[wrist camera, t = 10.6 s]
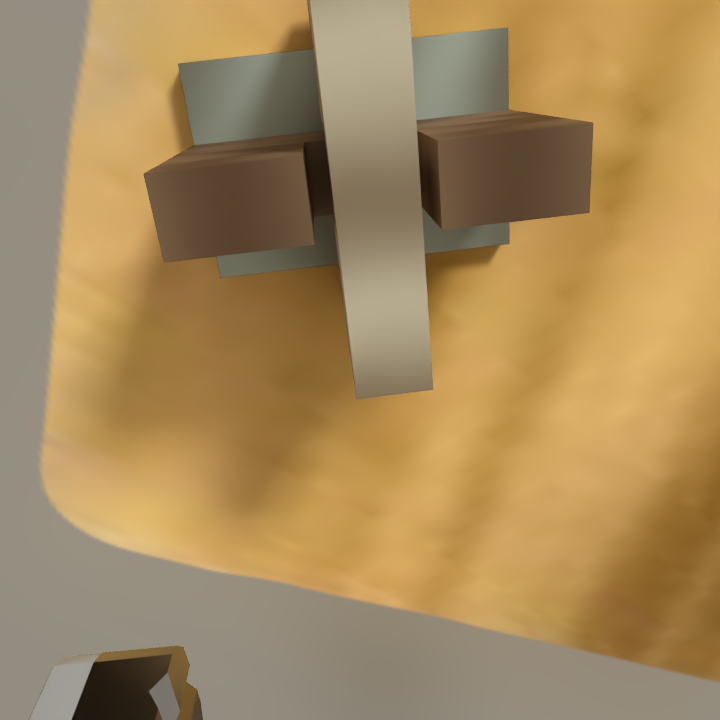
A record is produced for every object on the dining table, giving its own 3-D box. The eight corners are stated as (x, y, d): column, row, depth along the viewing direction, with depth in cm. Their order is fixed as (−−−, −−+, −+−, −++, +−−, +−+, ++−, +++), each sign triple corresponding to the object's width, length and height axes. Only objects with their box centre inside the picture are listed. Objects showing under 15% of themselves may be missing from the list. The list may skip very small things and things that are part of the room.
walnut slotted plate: (502, 29, 24) (598, 3, 16) (504, 239, 27) (585, 306, 19) (181, 64, 24) (116, 56, 16) (222, 272, 27) (185, 354, 19)
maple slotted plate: (306, -10, 22) (303, -53, 15) (374, -17, 22) (404, -64, 15) (344, 313, 27) (356, 398, 20) (400, 306, 27) (433, 389, 20)
